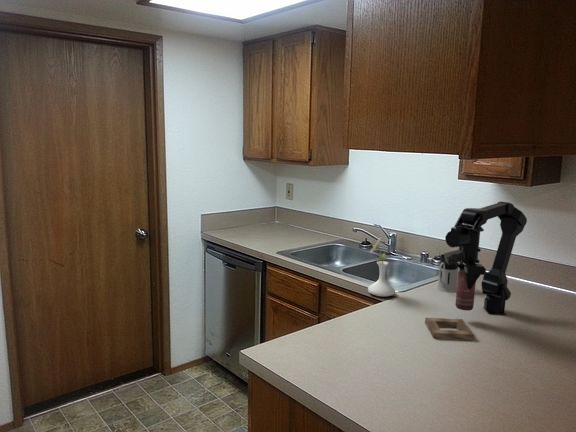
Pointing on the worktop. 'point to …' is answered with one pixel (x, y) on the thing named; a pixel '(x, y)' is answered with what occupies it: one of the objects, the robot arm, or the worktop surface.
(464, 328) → the socket block
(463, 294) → the can
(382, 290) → the flower in vase
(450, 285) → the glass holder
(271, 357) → the worktop surface
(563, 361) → the worktop surface
